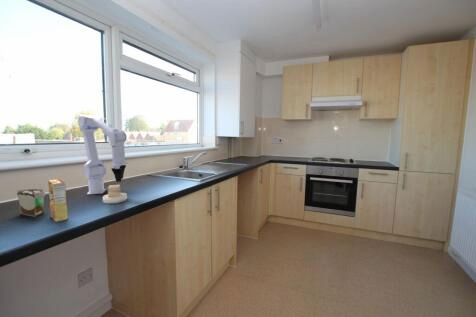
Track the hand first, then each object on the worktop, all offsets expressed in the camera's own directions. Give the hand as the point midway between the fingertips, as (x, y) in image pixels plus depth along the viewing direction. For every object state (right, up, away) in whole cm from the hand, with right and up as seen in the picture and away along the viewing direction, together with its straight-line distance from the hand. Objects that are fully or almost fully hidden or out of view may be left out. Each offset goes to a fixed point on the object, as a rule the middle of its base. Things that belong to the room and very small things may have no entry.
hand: (119, 180), depth 118 cm
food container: (-24, -12, -22) cm, 35 cm away
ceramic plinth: (-1, -10, -2) cm, 10 cm away
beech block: (-1, -8, -3) cm, 8 cm away
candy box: (-11, -13, -27) cm, 32 cm away
